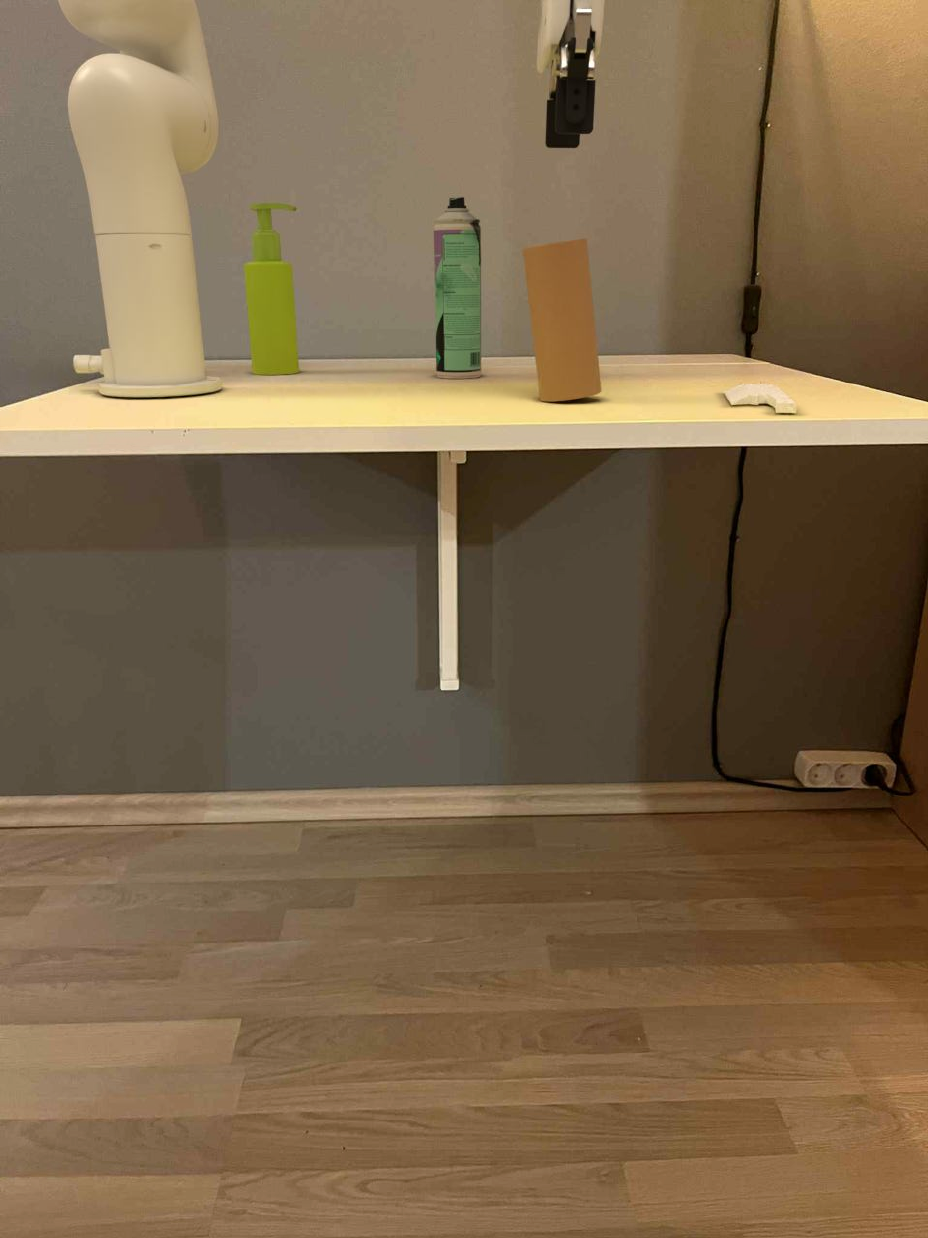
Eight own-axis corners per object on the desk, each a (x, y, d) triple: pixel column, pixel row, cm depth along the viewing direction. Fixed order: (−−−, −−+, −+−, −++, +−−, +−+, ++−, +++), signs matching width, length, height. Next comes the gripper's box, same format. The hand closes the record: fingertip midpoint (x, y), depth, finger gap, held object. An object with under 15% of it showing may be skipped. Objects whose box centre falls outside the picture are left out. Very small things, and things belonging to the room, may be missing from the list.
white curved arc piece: (734, 412, 83) (735, 400, 82) (723, 393, 97) (724, 382, 96) (796, 412, 82) (797, 399, 81) (775, 393, 96) (776, 382, 95)
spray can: (483, 374, 118) (482, 198, 111) (479, 378, 113) (478, 194, 106) (439, 374, 118) (436, 199, 112) (433, 378, 113) (430, 195, 106)
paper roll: (524, 246, 85) (590, 236, 85) (520, 248, 91) (582, 238, 91) (542, 404, 90) (605, 395, 90) (537, 396, 96) (597, 387, 96)
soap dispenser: (302, 374, 119) (291, 200, 112) (248, 374, 119) (233, 201, 113) (310, 370, 125) (300, 204, 118) (258, 370, 125) (244, 205, 118)
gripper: (525, -54, 88) (520, 151, 94) (540, -128, 71) (533, 126, 77) (606, -53, 88) (596, 152, 94) (639, -127, 72) (625, 127, 77)
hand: (567, 140), depth 86 cm, fingers open, 9 cm apart
